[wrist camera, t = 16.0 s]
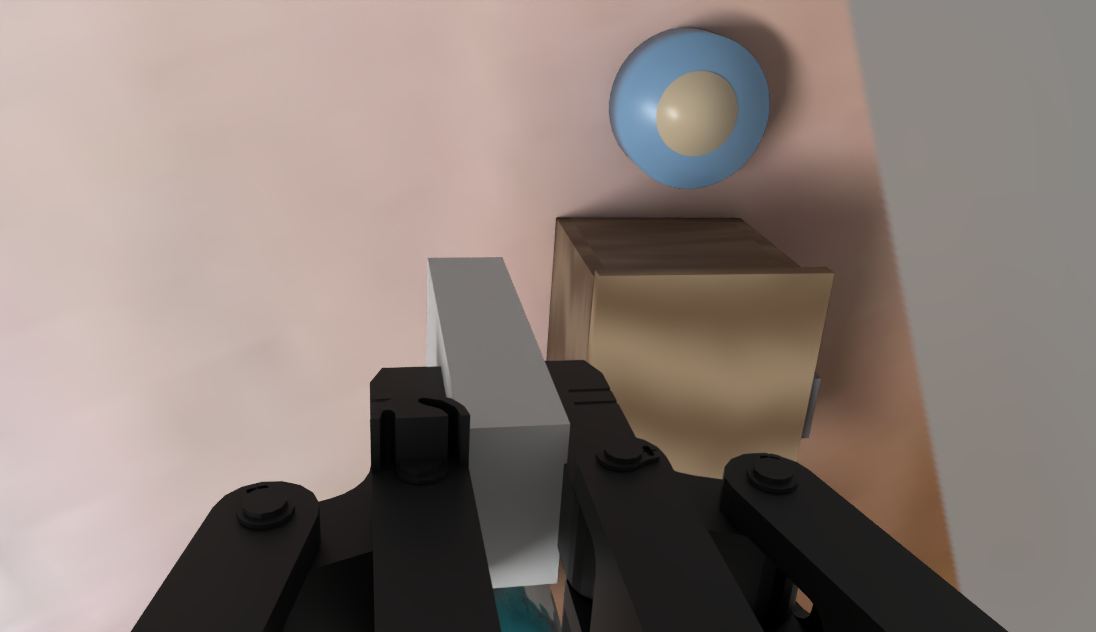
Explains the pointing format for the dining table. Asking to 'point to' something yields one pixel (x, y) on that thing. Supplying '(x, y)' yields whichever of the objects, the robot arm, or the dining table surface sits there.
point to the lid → (712, 358)
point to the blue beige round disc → (689, 107)
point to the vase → (527, 609)
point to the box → (639, 262)
